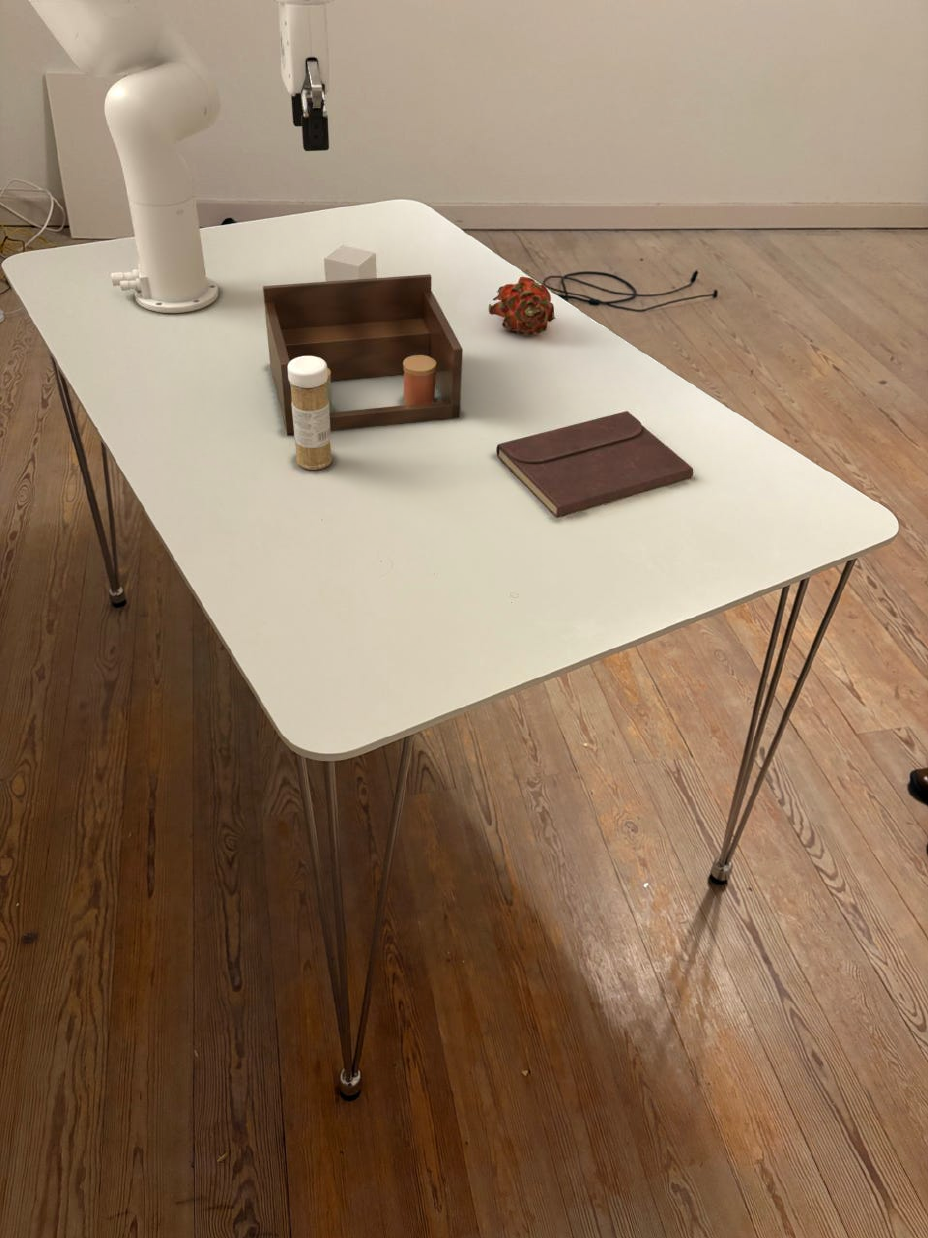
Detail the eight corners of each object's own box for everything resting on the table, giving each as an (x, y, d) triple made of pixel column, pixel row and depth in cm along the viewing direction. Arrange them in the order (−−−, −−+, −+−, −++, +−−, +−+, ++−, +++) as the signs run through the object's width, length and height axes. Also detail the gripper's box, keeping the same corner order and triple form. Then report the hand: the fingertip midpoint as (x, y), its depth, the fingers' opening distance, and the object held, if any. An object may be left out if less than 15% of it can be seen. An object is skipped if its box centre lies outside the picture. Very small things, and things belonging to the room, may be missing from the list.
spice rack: (287, 435, 130) (279, 349, 122) (270, 367, 143) (262, 285, 135) (459, 417, 135) (463, 333, 127) (428, 353, 148) (430, 273, 140)
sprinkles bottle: (319, 447, 128) (313, 350, 119) (339, 463, 126) (334, 365, 117) (288, 459, 126) (279, 361, 117) (308, 476, 124) (300, 377, 115)
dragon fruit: (539, 358, 151) (497, 335, 160) (578, 316, 151) (534, 296, 160) (511, 319, 146) (469, 298, 154) (551, 275, 145) (507, 256, 154)
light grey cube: (326, 295, 161) (323, 258, 157) (344, 281, 165) (342, 244, 161) (359, 303, 159) (358, 265, 155) (377, 288, 163) (376, 252, 159)
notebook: (692, 479, 126) (695, 466, 125) (557, 519, 119) (559, 505, 118) (623, 421, 136) (625, 408, 135) (495, 455, 129) (496, 441, 127)
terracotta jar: (406, 412, 136) (407, 372, 132) (400, 396, 139) (399, 356, 135) (438, 409, 137) (439, 369, 132) (431, 393, 140) (432, 353, 136)
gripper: (262, -32, 125) (273, 117, 136) (278, 0, 113) (290, 161, 124) (322, -32, 126) (329, 115, 138) (346, 0, 114) (350, 158, 126)
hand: (310, 137), depth 131 cm, fingers open, 9 cm apart
